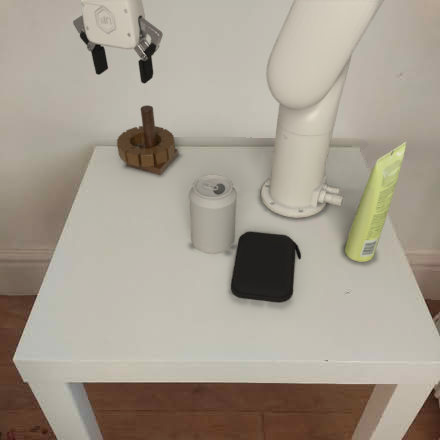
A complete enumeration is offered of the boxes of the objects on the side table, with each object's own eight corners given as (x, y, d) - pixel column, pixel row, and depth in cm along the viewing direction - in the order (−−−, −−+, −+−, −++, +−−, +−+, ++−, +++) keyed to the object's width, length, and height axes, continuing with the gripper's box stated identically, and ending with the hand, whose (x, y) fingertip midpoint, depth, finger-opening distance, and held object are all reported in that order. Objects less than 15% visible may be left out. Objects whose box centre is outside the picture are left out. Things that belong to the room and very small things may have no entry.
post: (178, 155, 97) (174, 103, 89) (160, 175, 92) (154, 122, 84) (145, 147, 99) (139, 95, 91) (126, 166, 94) (117, 113, 86)
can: (230, 260, 76) (232, 202, 67) (186, 253, 77) (183, 195, 68) (237, 231, 81) (240, 174, 72) (197, 225, 82) (195, 168, 73)
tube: (342, 239, 80) (371, 138, 65) (371, 241, 80) (407, 140, 65) (345, 262, 76) (376, 160, 62) (375, 264, 76) (414, 162, 61)
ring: (183, 143, 98) (183, 132, 96) (159, 171, 91) (158, 160, 89) (135, 132, 100) (134, 121, 98) (108, 159, 93) (106, 148, 91)
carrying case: (297, 310, 69) (300, 245, 79) (300, 297, 67) (303, 232, 77) (228, 302, 70) (239, 239, 80) (229, 289, 68) (240, 225, 78)
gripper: (46, -35, 71) (73, 76, 84) (142, -24, 67) (155, 92, 80) (75, -46, 76) (96, 61, 89) (166, -36, 71) (175, 75, 84)
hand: (124, 76), depth 84 cm, fingers open, 9 cm apart
